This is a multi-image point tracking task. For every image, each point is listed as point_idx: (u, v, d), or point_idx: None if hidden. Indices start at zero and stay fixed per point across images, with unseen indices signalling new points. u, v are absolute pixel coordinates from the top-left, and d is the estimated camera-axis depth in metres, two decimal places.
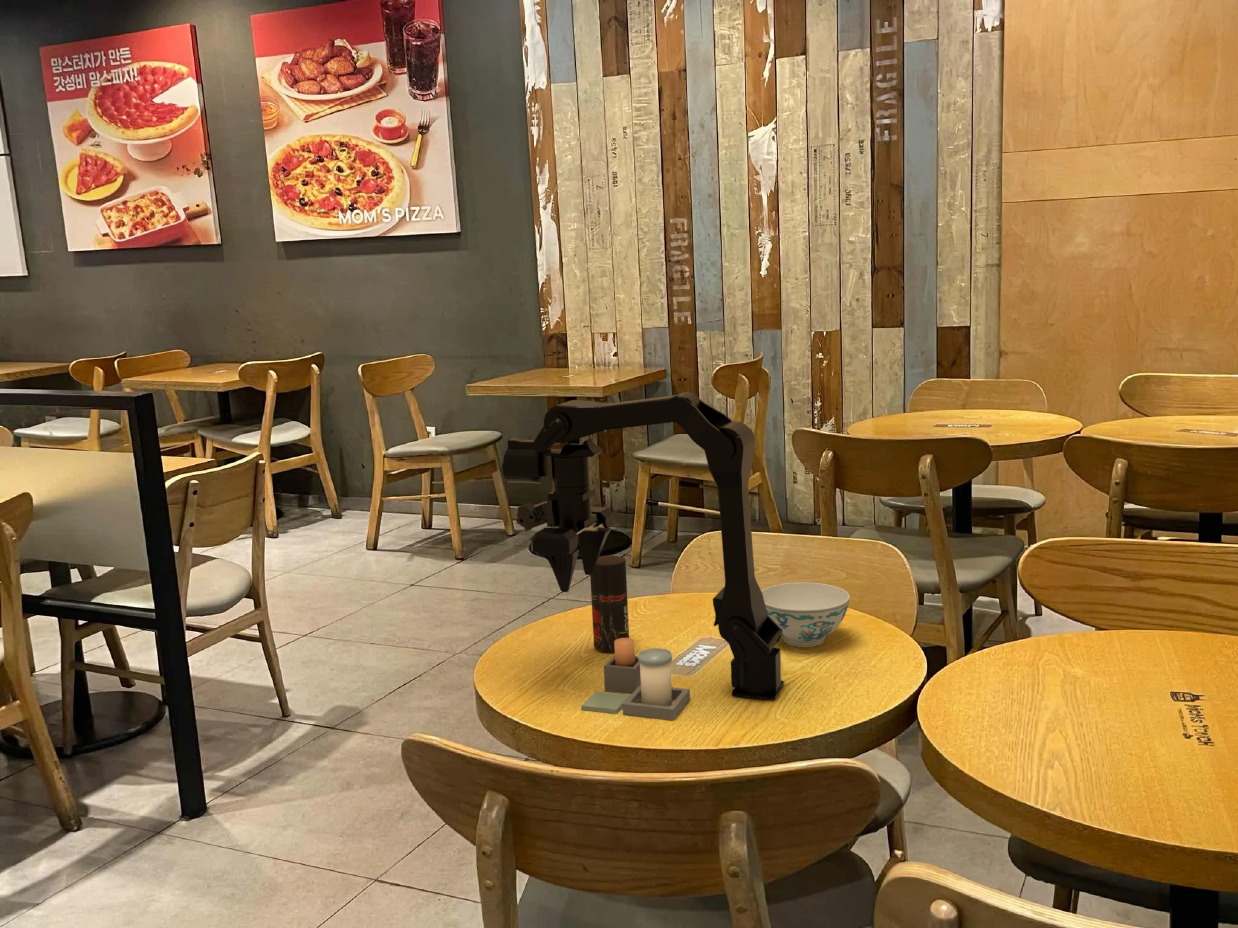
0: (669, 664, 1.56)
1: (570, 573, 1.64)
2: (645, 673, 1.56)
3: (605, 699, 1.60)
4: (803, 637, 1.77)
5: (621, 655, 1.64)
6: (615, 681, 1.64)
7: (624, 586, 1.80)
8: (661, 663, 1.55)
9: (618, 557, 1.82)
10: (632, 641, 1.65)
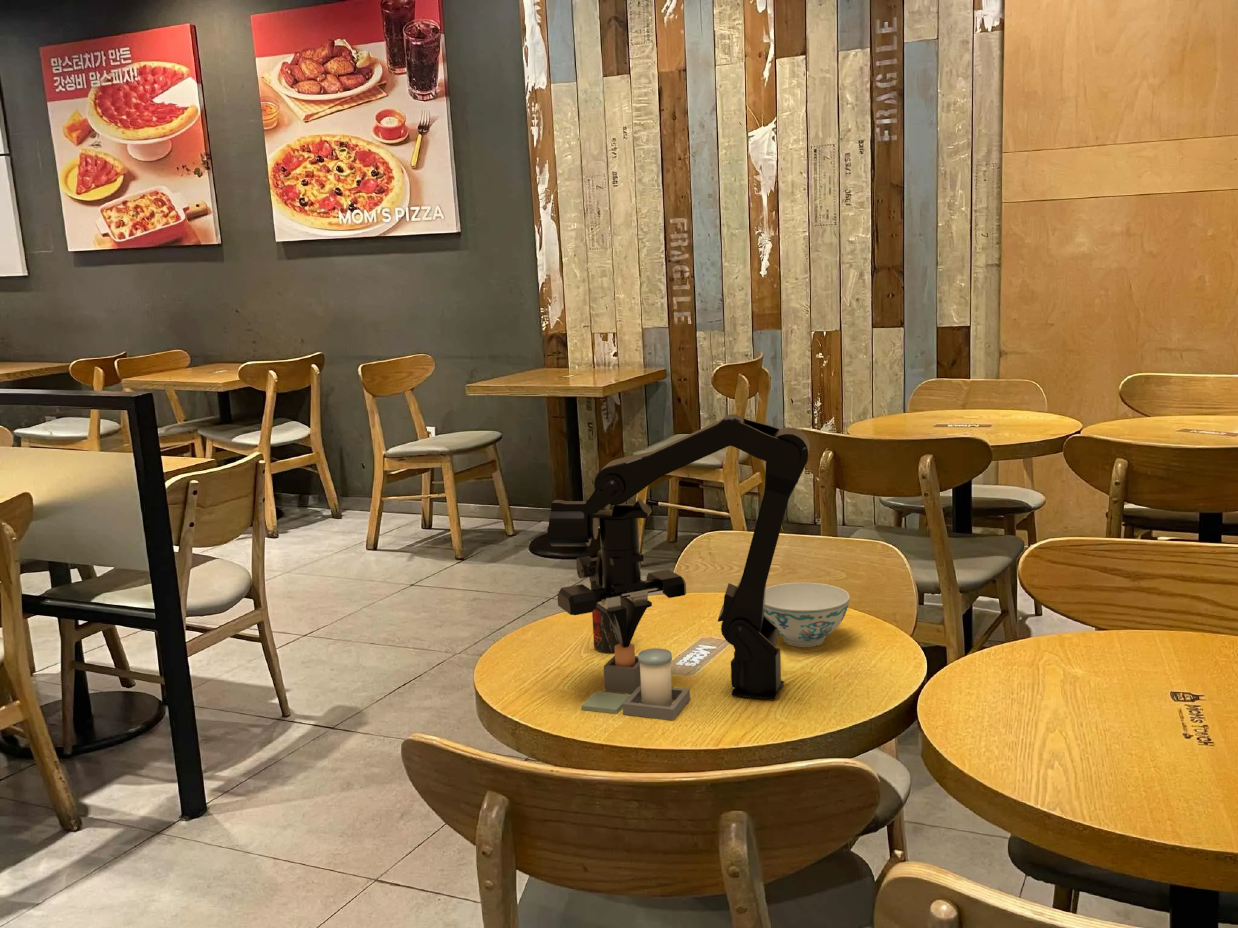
0: (669, 664, 1.56)
1: (620, 630, 1.63)
2: (645, 673, 1.56)
3: (605, 699, 1.60)
4: (803, 637, 1.77)
5: (621, 660, 1.64)
6: (615, 681, 1.64)
7: None
8: (661, 663, 1.55)
9: None
10: (632, 646, 1.65)
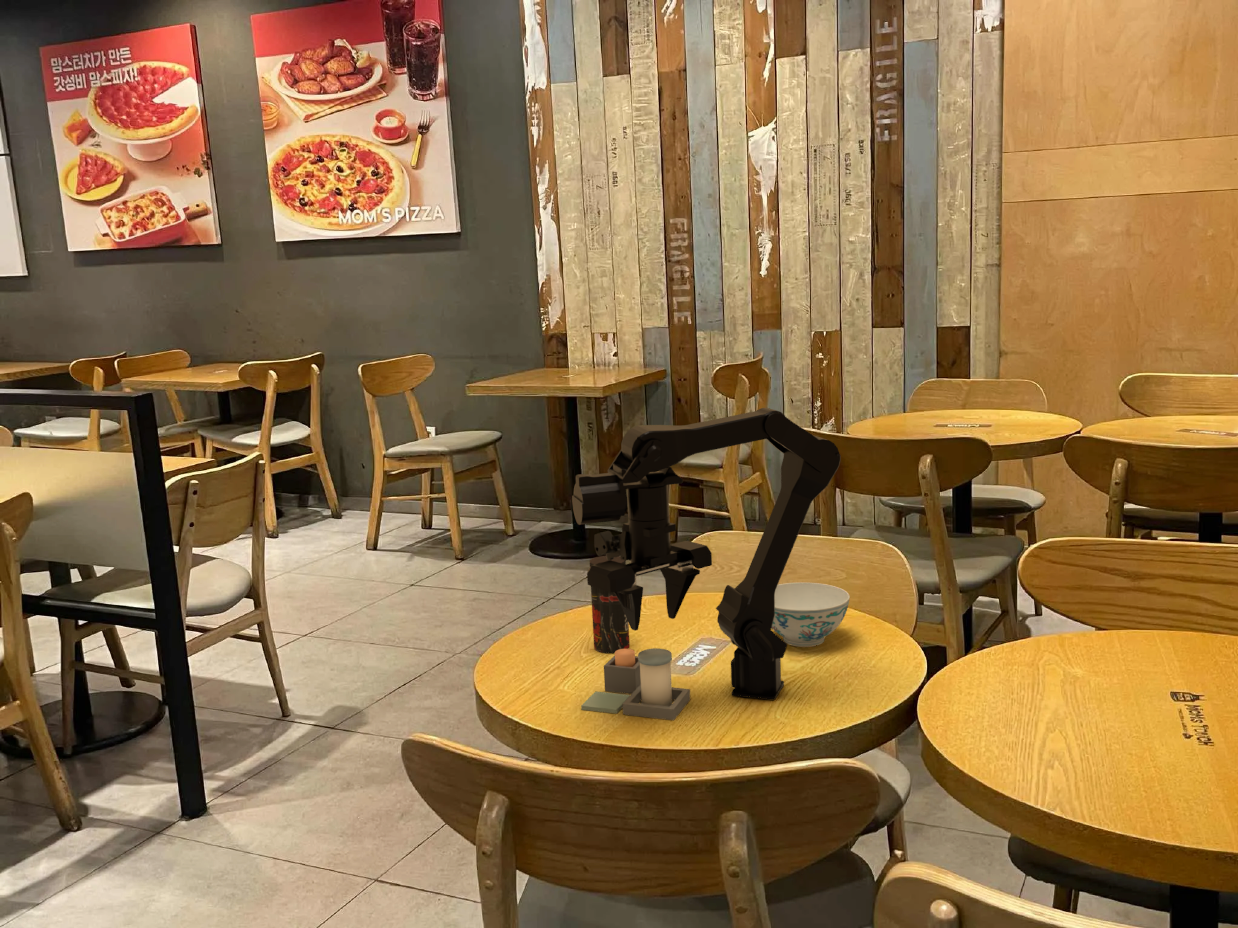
0: (669, 664, 1.56)
1: (634, 611, 1.51)
2: (645, 673, 1.56)
3: (605, 699, 1.60)
4: (803, 637, 1.77)
5: None
6: (615, 681, 1.64)
7: None
8: (661, 663, 1.55)
9: (618, 557, 1.82)
10: (632, 652, 1.65)
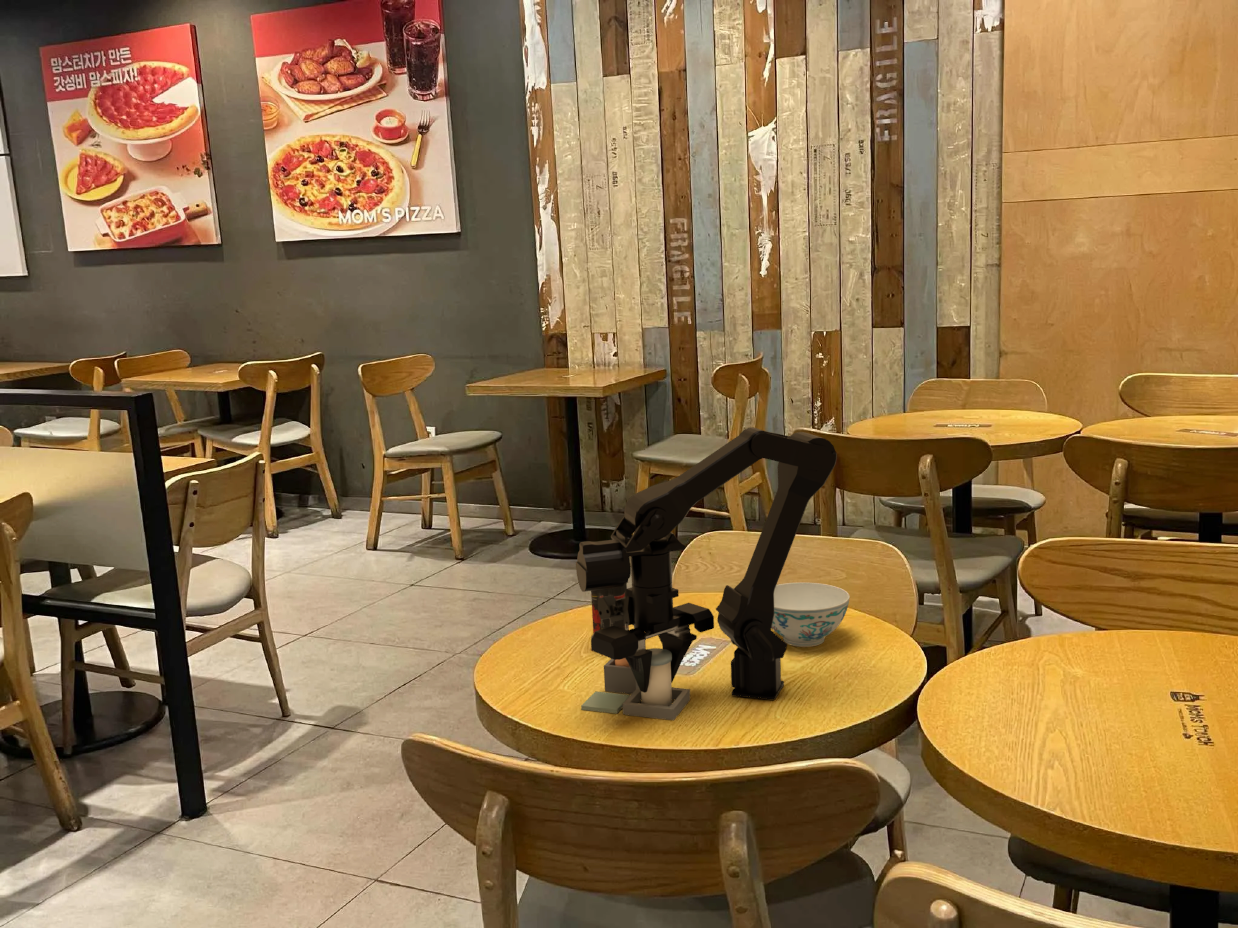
0: (669, 664, 1.56)
1: (644, 674, 1.54)
2: None
3: (605, 699, 1.60)
4: (803, 637, 1.77)
5: None
6: (615, 681, 1.64)
7: (624, 586, 1.80)
8: (661, 663, 1.55)
9: None
10: None
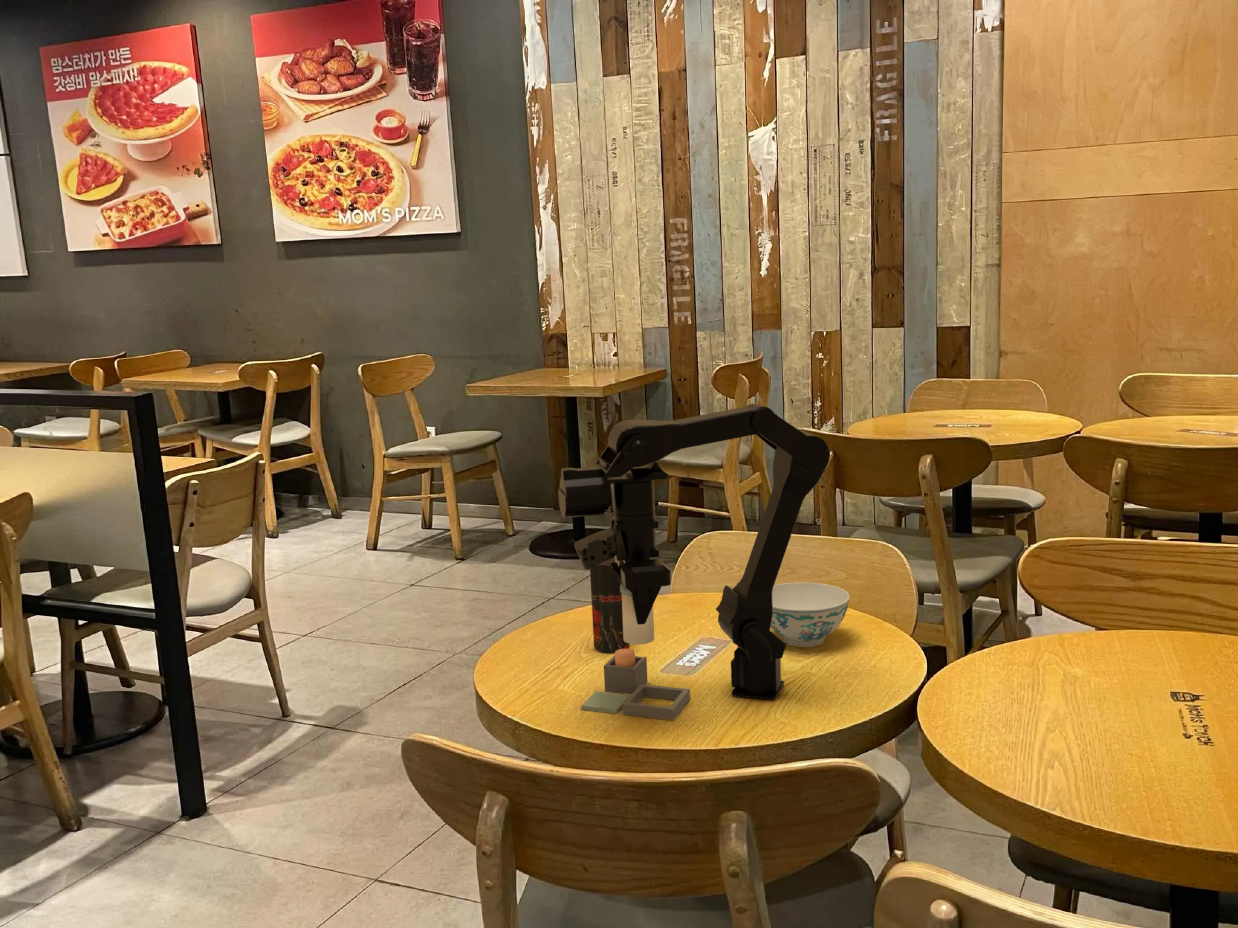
0: None
1: (653, 602, 1.52)
2: None
3: (605, 699, 1.60)
4: (803, 637, 1.77)
5: None
6: (615, 681, 1.64)
7: None
8: None
9: None
10: (632, 652, 1.65)
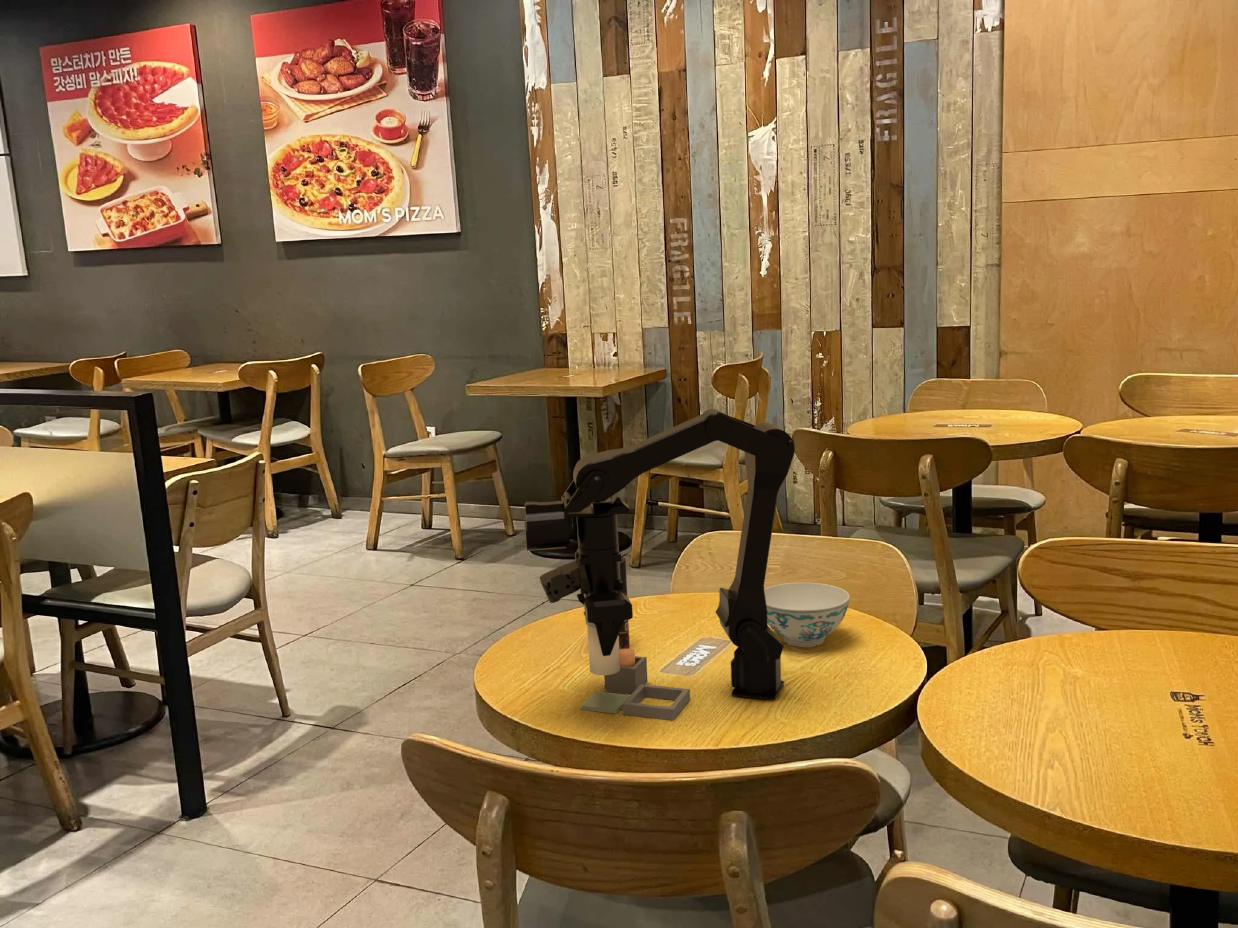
0: None
1: (617, 634, 1.55)
2: None
3: (605, 699, 1.60)
4: (803, 637, 1.77)
5: None
6: (615, 681, 1.64)
7: (624, 586, 1.80)
8: None
9: None
10: (632, 652, 1.65)
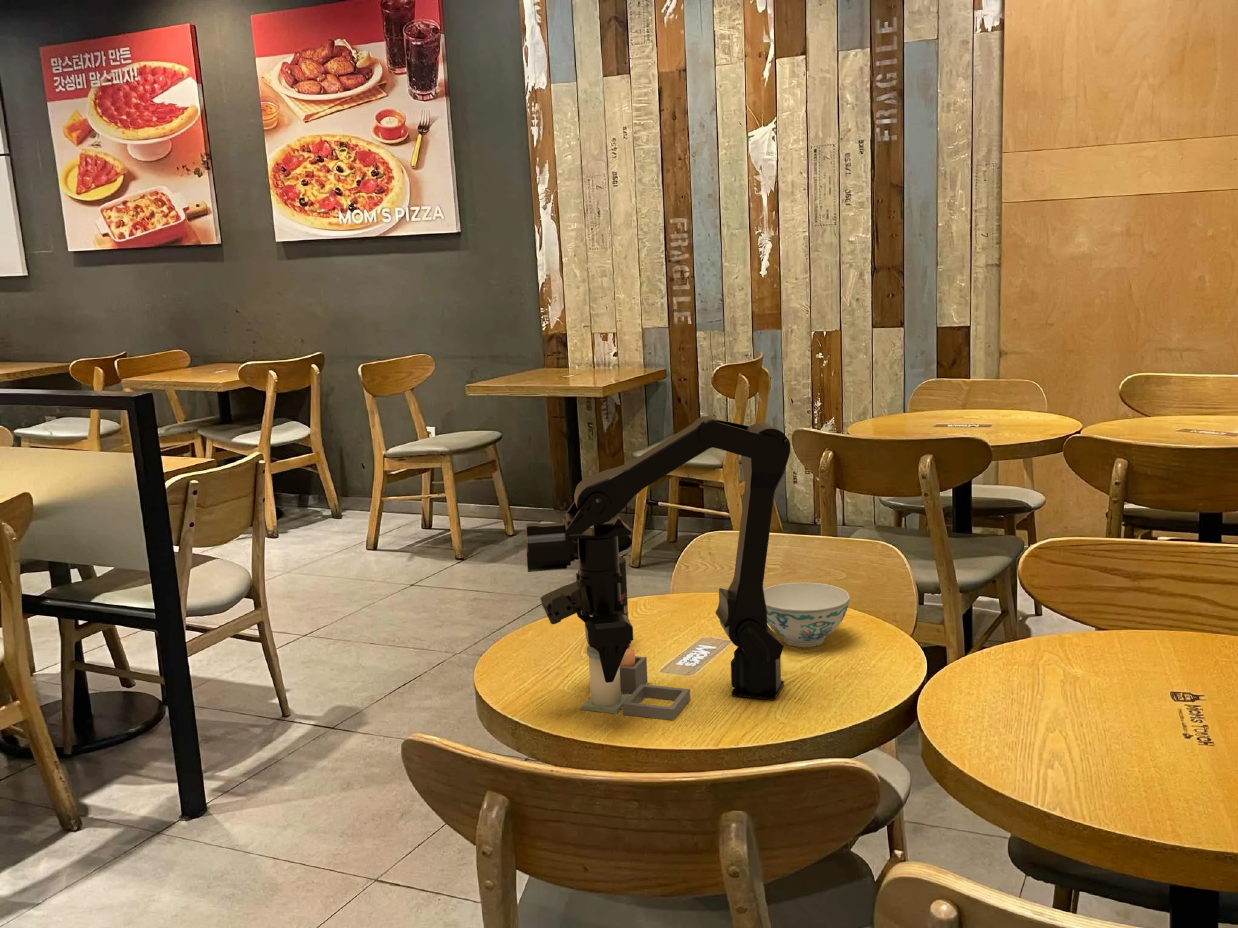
0: None
1: (620, 661, 1.53)
2: None
3: None
4: (803, 637, 1.77)
5: None
6: None
7: (624, 586, 1.80)
8: None
9: None
10: (632, 652, 1.65)
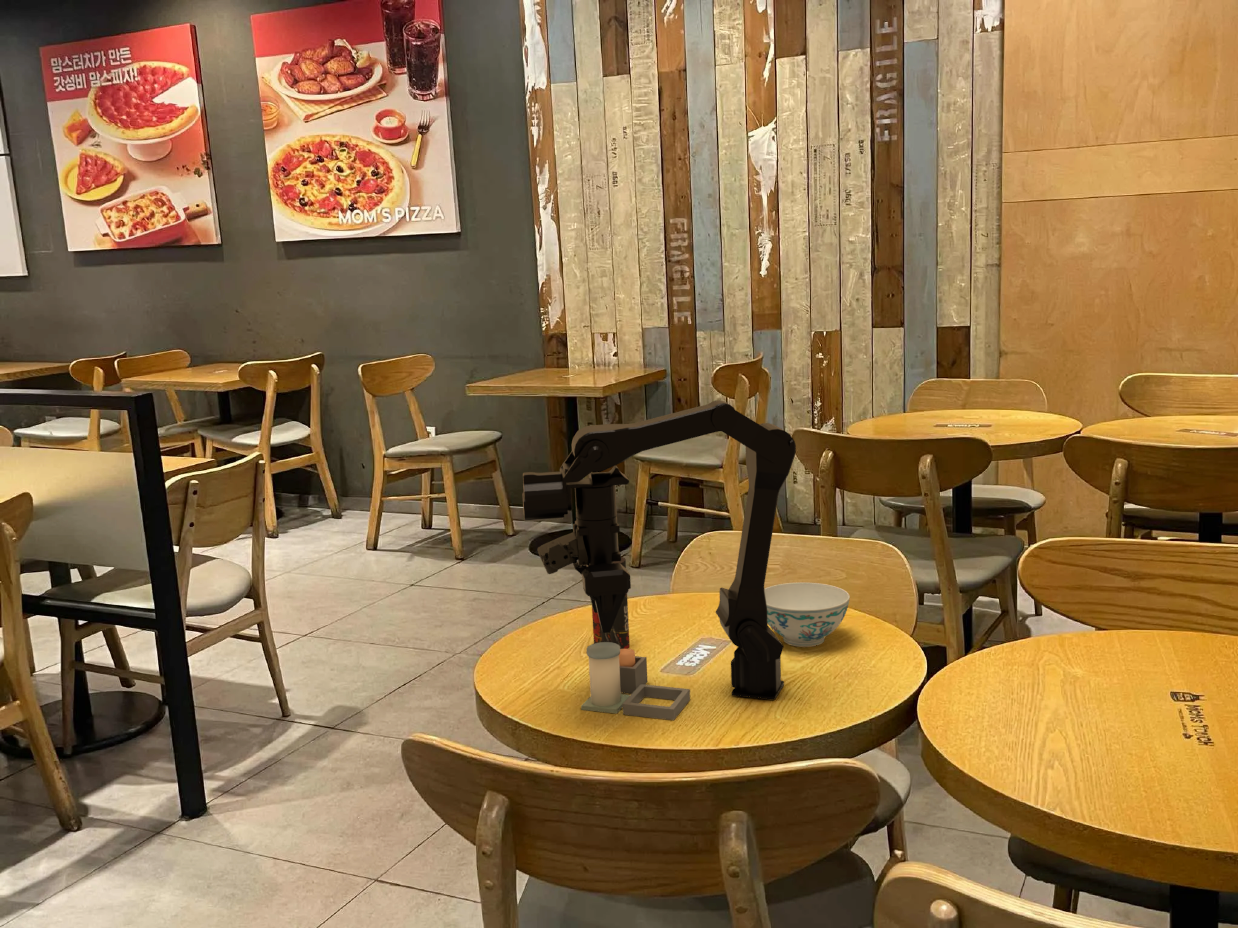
0: None
1: (617, 611, 1.52)
2: (608, 667, 1.57)
3: None
4: (803, 637, 1.77)
5: None
6: None
7: None
8: (619, 651, 1.58)
9: None
10: (632, 652, 1.65)
